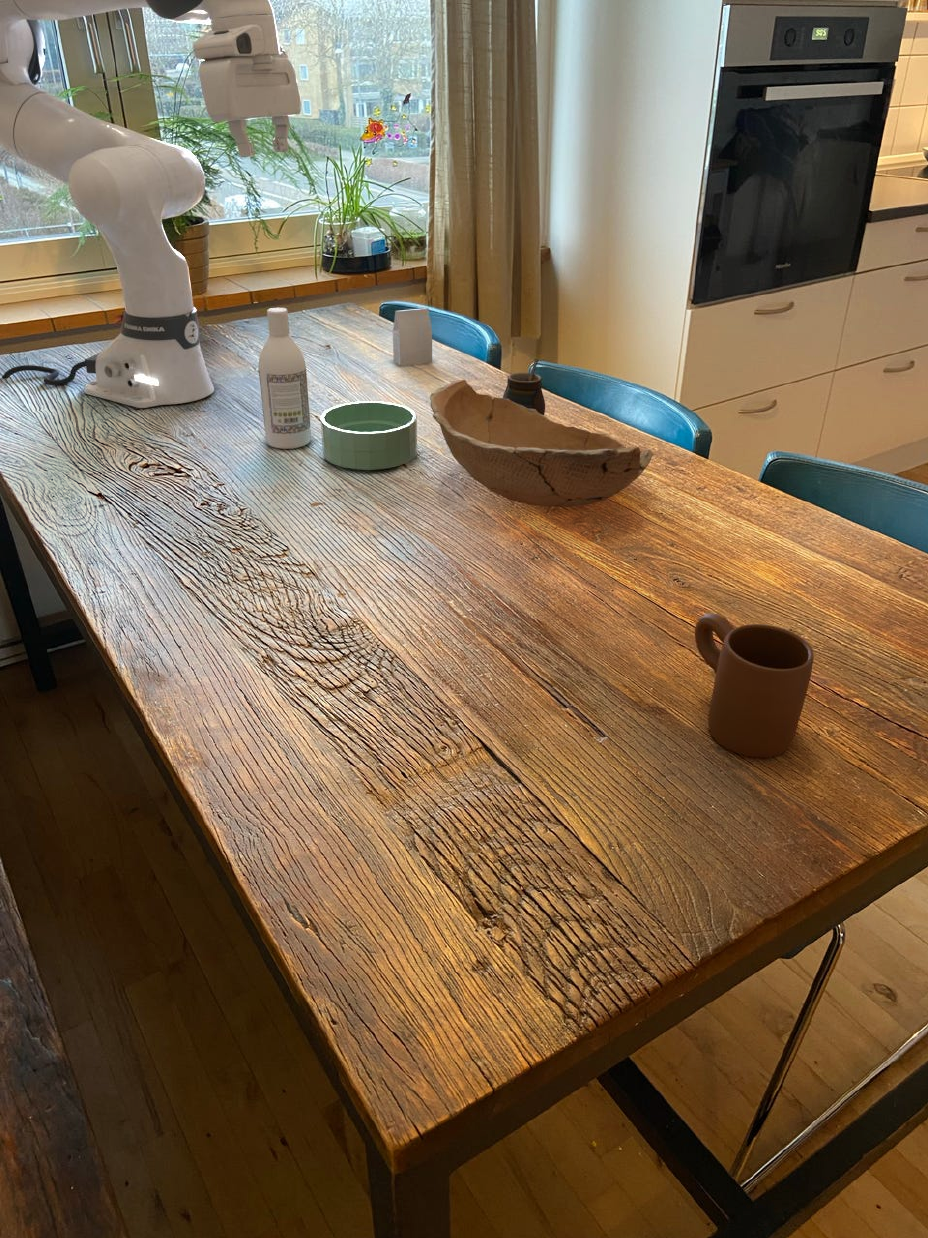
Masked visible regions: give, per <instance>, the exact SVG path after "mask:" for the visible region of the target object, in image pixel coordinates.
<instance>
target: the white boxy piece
mask: <svg viewBox="0 0 928 1238" xmlns="http://www.w3.org/2000/svg"><path fill="white" fill-rule="evenodd" d="M392 355H393V357H392V359H393V362H394V363H395V364H397V365H398V366H399V367H405V366H414V365H423V364H432V363H433V329H432V323H431V317H430V309H429V308H428V307H423V308H414V309H404V310H395V311H394V320H393V326H392Z"/></svg>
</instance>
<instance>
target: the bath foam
mask: <svg viewBox="0 0 928 1238" xmlns="http://www.w3.org/2000/svg"><path fill="white" fill-rule="evenodd" d="M266 315H267V327H268V333H269V335H268V336H267V338H266V340H265V343H264V345H263V346H262V349H261V351H260V354H259V358H258V374H259V375H258V376H259V385H260V397H261V405H262V416H263V424H264V432H265V433H264V435H265V441H266V443H267V444H268V445H269V446H271V447H273V448H276V449H282V450H290V449H292V450H293V449H298V448H301V447H305V446H306V445H309V443H310V442H311V441H312V430H311V429H312V428H311V415H310V401H309V388H308V376H307V375H308V373H307V366H306V360H305V357H304V355H303V352H302V350H301V348H300V347H299V345H298V344H297V343H296V341H295V340H294V338H293V337H292V336H291V334H290V323H289V321H290V320H289V311H288V309H287V308H285V307H272V308H268V309H267V310H266Z"/></svg>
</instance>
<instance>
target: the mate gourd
mask: <svg viewBox="0 0 928 1238" xmlns="http://www.w3.org/2000/svg"><path fill="white" fill-rule="evenodd" d="M539 360H540V359H537V358H534V362H533V364H532V367H531V370H530V372H514V373H513V372H512V373H511V374H509V375H507V379H506V380H507V381H506V384H507V385H506V388H505V390H504V392H503V395H502V398H505V399H509V400H511V401H512V402H514V403H517V404H519V405H522V406H524V407H526V408H528V409H535V410H536V411H537V412H538V413H540V414H541V415H544V416H545V413H546V401H545V396H544V393H543V389H542V386H543V383H542V380H543V378H542V376H540V375H539V374H536V373H535V371H536V368H537V365H538V363H539Z"/></svg>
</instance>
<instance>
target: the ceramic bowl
mask: <svg viewBox="0 0 928 1238" xmlns="http://www.w3.org/2000/svg"><path fill="white" fill-rule="evenodd" d="M429 400H430V408H431V410H432V412H433V414H432V417H433V419H434V420H435V421H436V423H437V424H439V427H440V431H441V434H442V436H443V439H444V441H445V443H446V446H447V447H448V449H449V451H450V452H451V455H452V457H453V458H454V459H455V461H456V462H457V463H458V465H460V466H461V467H462V468H463V469H464V471H465V472H466V473H467V474H469V476H470V477H471V478H473V480H475V481H476V482H478V483H479V484H480V485H482V486H483V487H485V488H486V489H488V490H489V492H492V493H493V494H496V495H497V496H500V497H502V498H504V499H506V500H508V501H509V502H517V503H521V504H526V505H531V506H539V507H545V508H546V507H549V508H571V507H572V508H573V507H580V506H581V507H582V506H587V505H592V504H596V503H600V502H603V501H605V500H607V499H610V498H611V497H613V496H614V495H616V494H619V493H620V492H621V491H623V490H624V489H626V488H627V487H629V486H630V485H631V484H632V483H633V482H635V481H636V480H637V479H638V478H639V477H640V476H641V474H643V472H644V471H645V469H646V468H647V467H649V464H650V463H651V461H652V457H653V456H654V455H655V454H654V452H653V451H652V449H648V448H645V449H643V450H641V448H640V446H636V445H634V446H625V445H624V444H623V443H621V442H619V441H617V440H616V439H614V438H612V437H610V436H609V435H607V434H605V433H598V432H591V431H589V430H587V429H583V428H582V429H581V428H578V427H575V426H566V425H564V424H562V423H559V422H555V421H553V420H552V419H550V418H549V417H547V416H546V415H545V414H544V415H541V414H540V413H538V412H537V411H536V410H535V409H528V408H526V407H524V406H522V405H519V404H517V403H514V402H512V401H511V400H509V399H505V398H503V397H498V396H497V397H496V396H491V395H489V394H482V393H481V394H480V393H479V392H477V391H475V389H474V388H473V387H472V386H471V385H469V384H468V382H467V380H466V379H458V380H453V381H450V383H446V384H444V385H443V386H441V387H437V388H436V389H435V390H434V392H432V393H431V394H430V396H429Z"/></svg>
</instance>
